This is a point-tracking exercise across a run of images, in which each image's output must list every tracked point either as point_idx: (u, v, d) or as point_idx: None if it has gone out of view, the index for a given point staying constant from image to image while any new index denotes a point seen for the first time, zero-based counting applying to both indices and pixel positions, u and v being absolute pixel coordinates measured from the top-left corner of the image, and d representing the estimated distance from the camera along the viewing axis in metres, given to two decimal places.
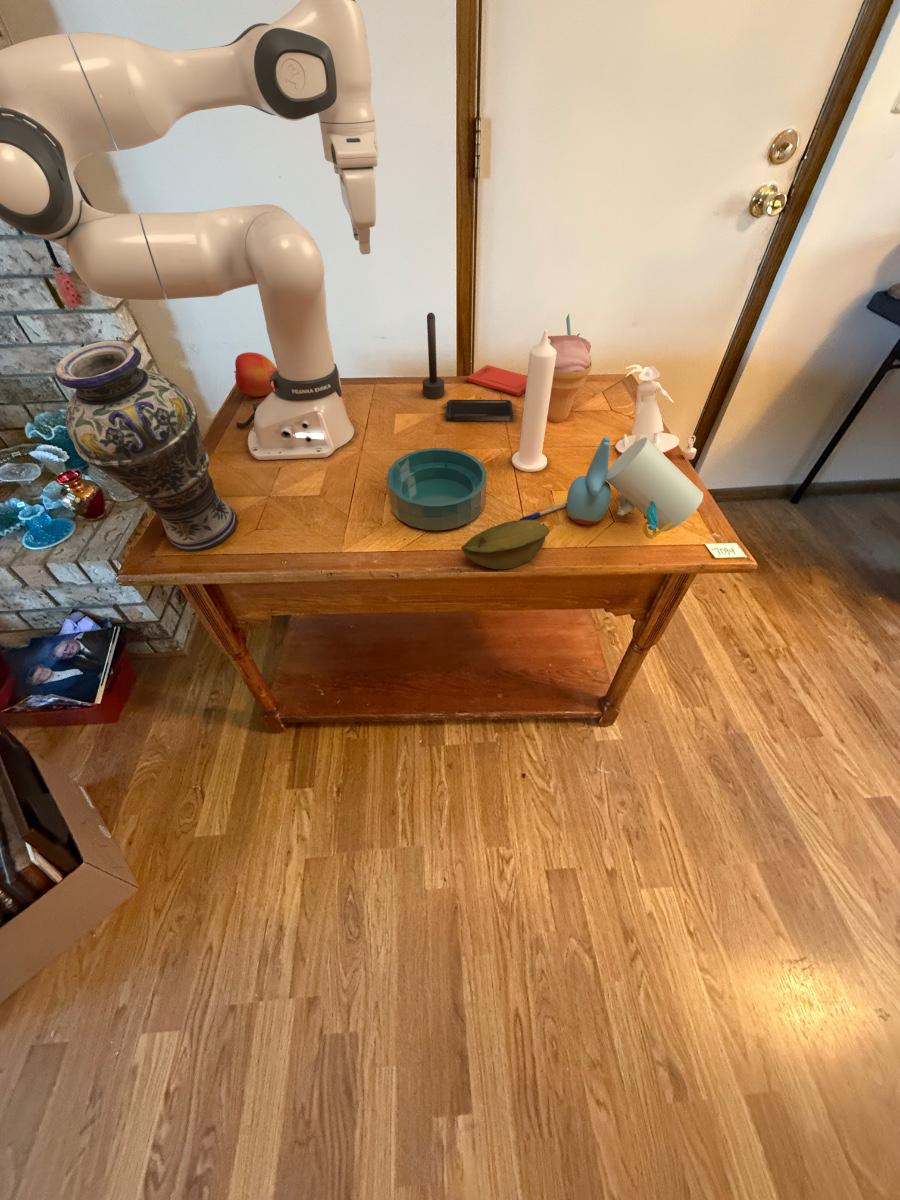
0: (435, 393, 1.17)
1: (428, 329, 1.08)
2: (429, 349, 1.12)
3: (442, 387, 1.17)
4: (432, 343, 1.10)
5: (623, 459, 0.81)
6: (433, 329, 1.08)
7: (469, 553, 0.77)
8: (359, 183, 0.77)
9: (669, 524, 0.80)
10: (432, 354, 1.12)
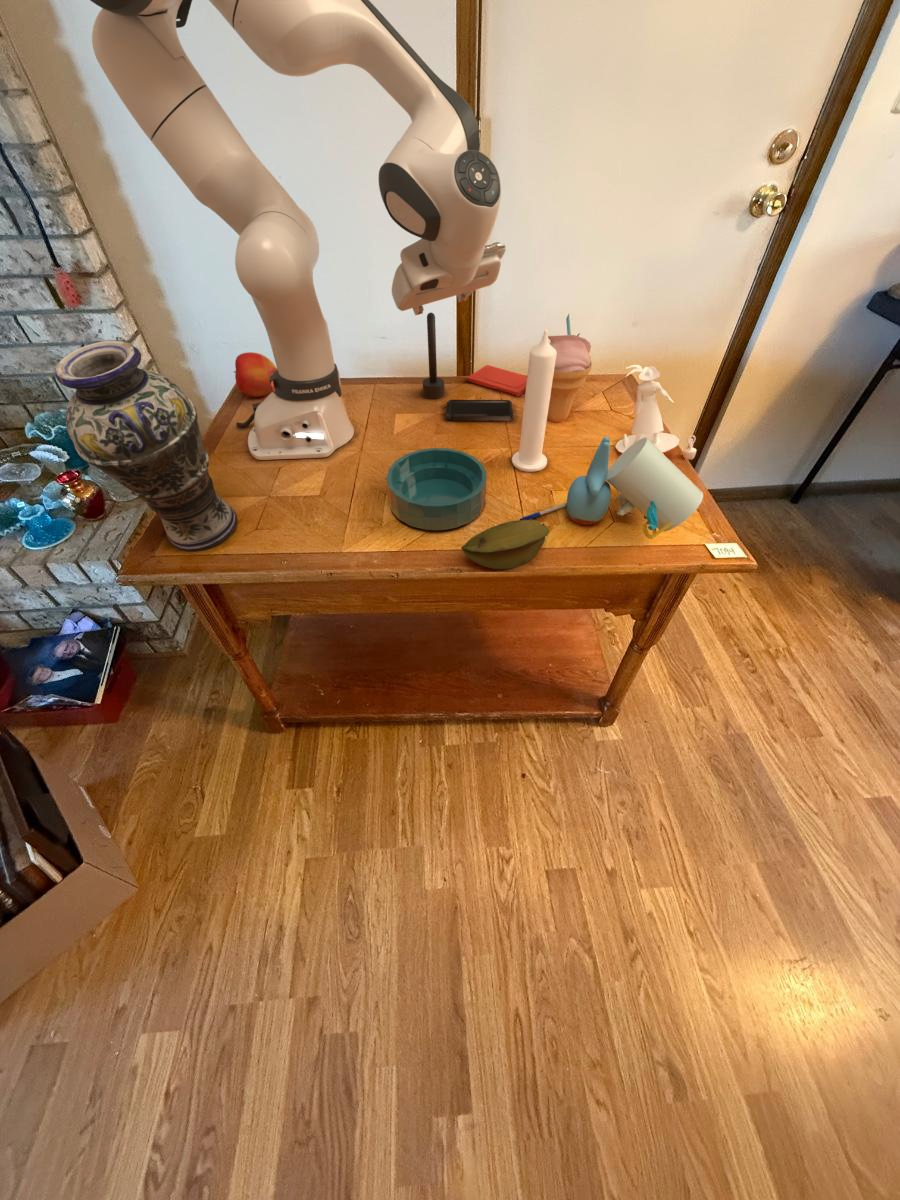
0: (435, 393, 1.17)
1: (428, 329, 1.08)
2: (429, 349, 1.12)
3: (442, 387, 1.17)
4: (432, 343, 1.10)
5: (623, 459, 0.81)
6: (433, 329, 1.08)
7: (469, 553, 0.77)
8: (399, 282, 0.85)
9: (669, 524, 0.80)
10: (432, 354, 1.12)
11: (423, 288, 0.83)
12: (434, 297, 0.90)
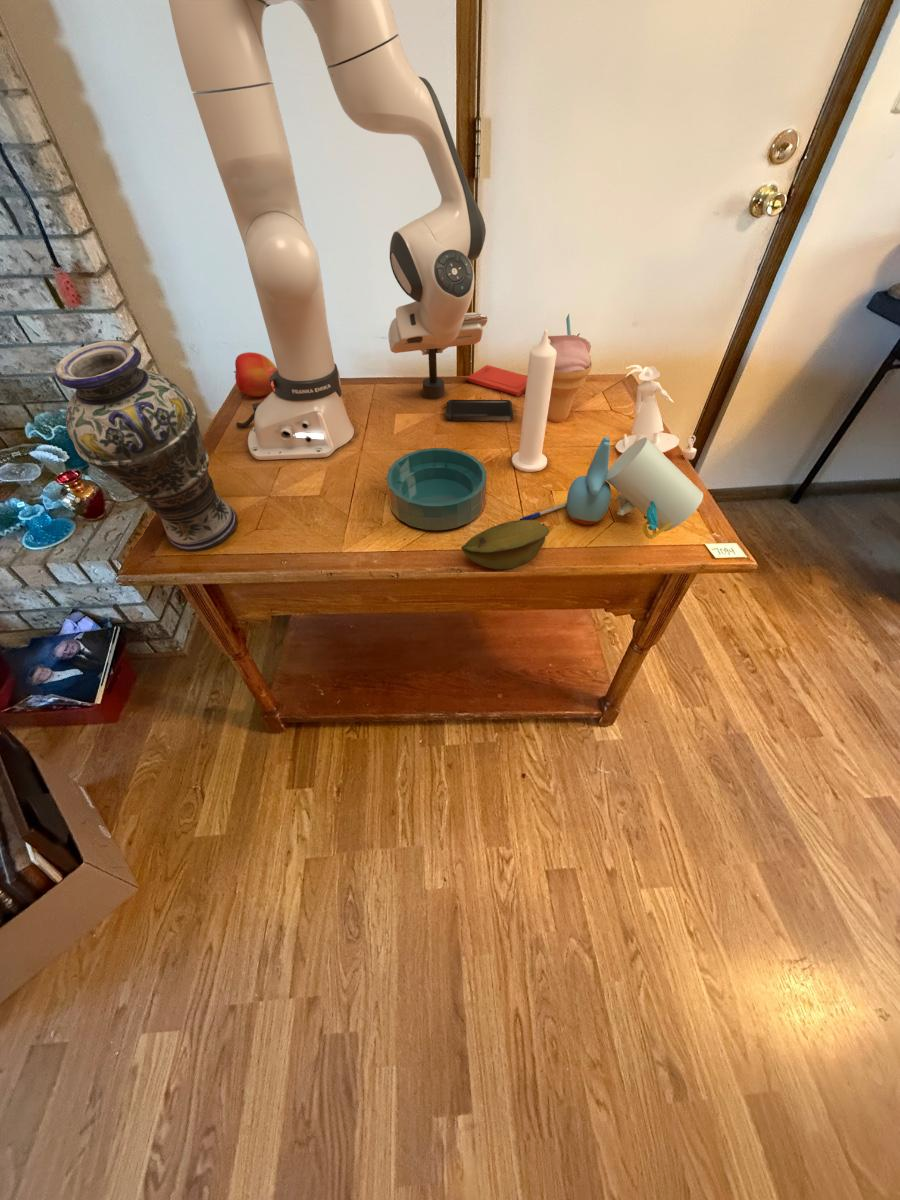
0: (435, 393, 1.17)
1: None
2: (429, 349, 1.12)
3: (442, 387, 1.17)
4: None
5: (623, 459, 0.81)
6: None
7: (469, 553, 0.77)
8: (393, 332, 1.01)
9: (669, 524, 0.80)
10: (432, 354, 1.12)
11: (409, 341, 0.99)
12: (423, 347, 1.06)
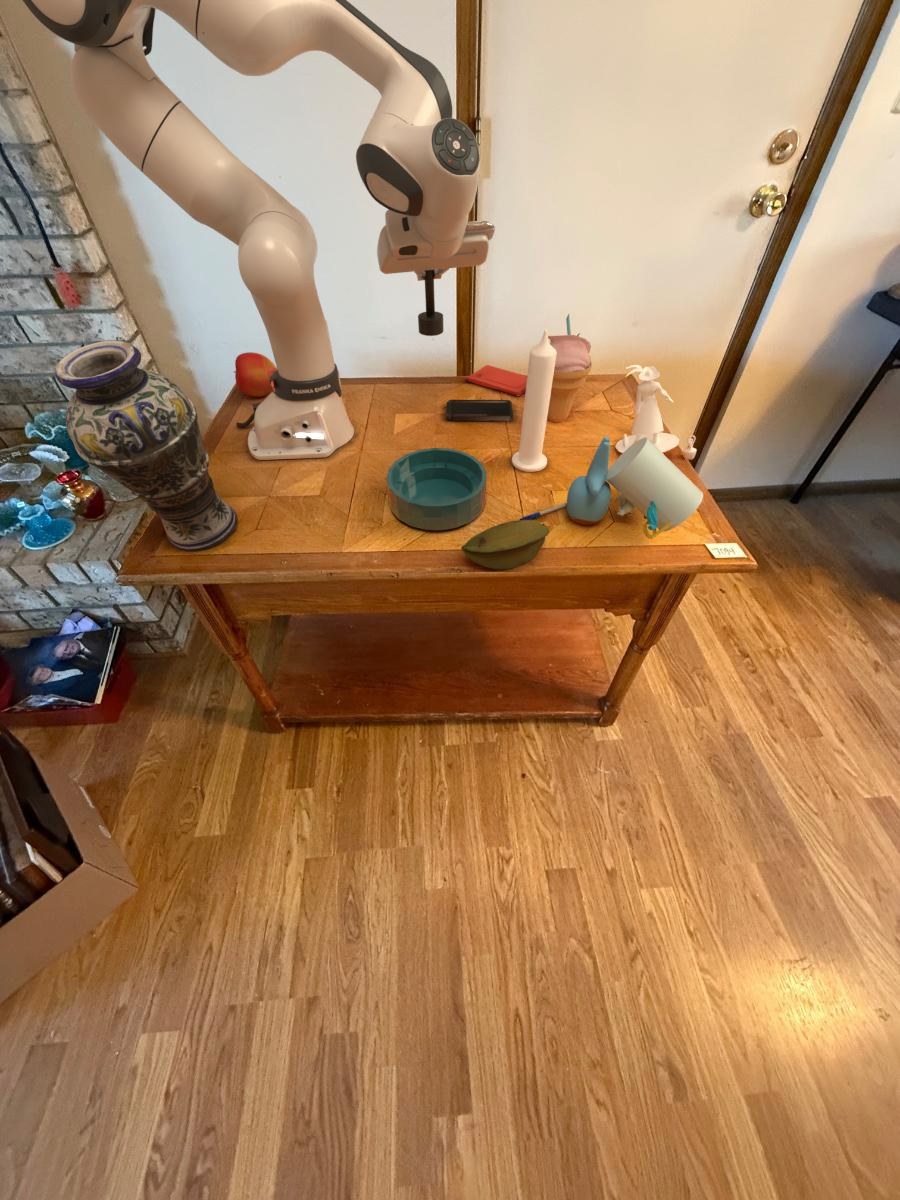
0: (433, 329, 1.01)
1: None
2: None
3: (441, 322, 1.01)
4: None
5: (623, 459, 0.81)
6: None
7: (469, 553, 0.77)
8: (382, 243, 0.85)
9: (669, 524, 0.80)
10: (429, 280, 0.96)
11: (402, 253, 0.83)
12: (419, 266, 0.90)
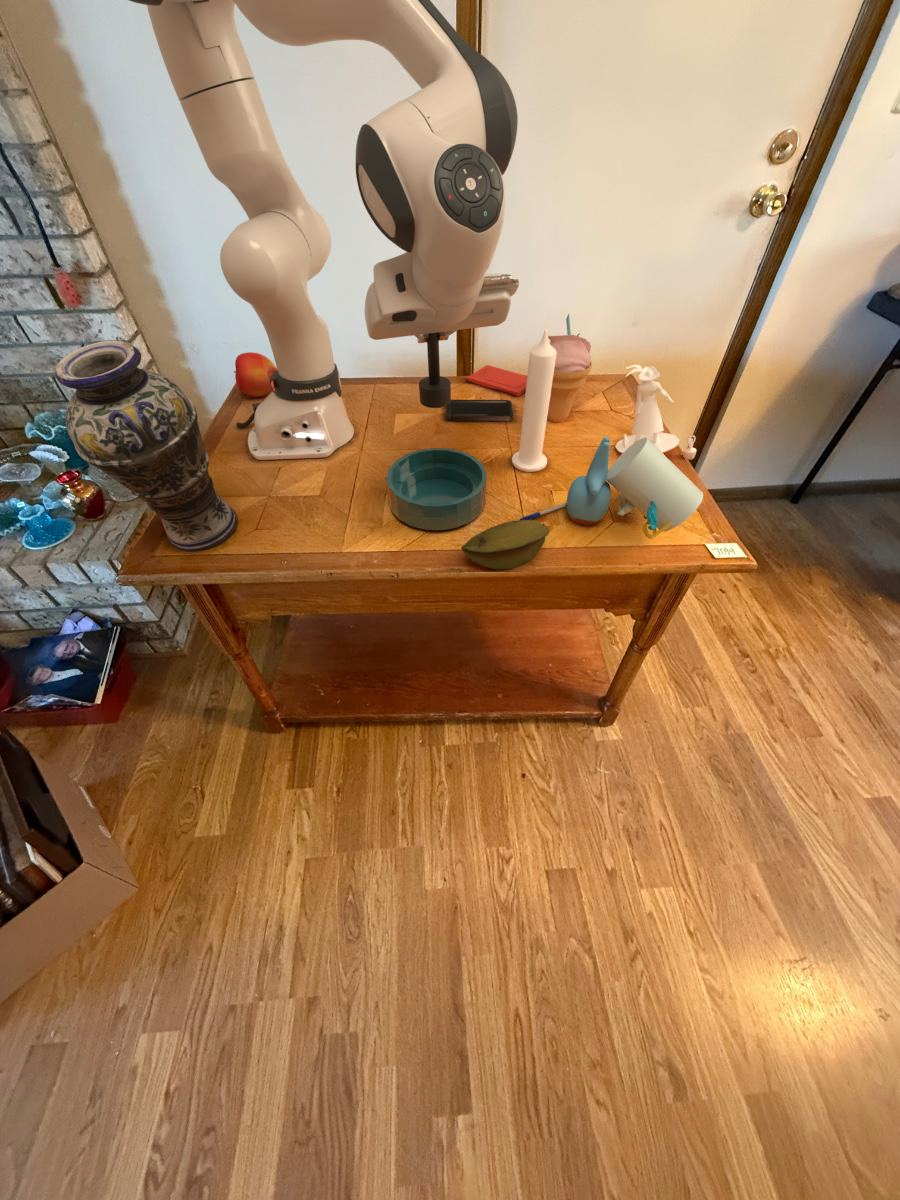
0: (437, 400, 0.80)
1: None
2: (428, 334, 0.74)
3: (448, 391, 0.80)
4: None
5: (623, 459, 0.81)
6: None
7: (469, 553, 0.77)
8: (370, 305, 0.64)
9: (669, 524, 0.80)
10: (432, 342, 0.75)
11: (396, 319, 0.62)
12: (419, 330, 0.69)
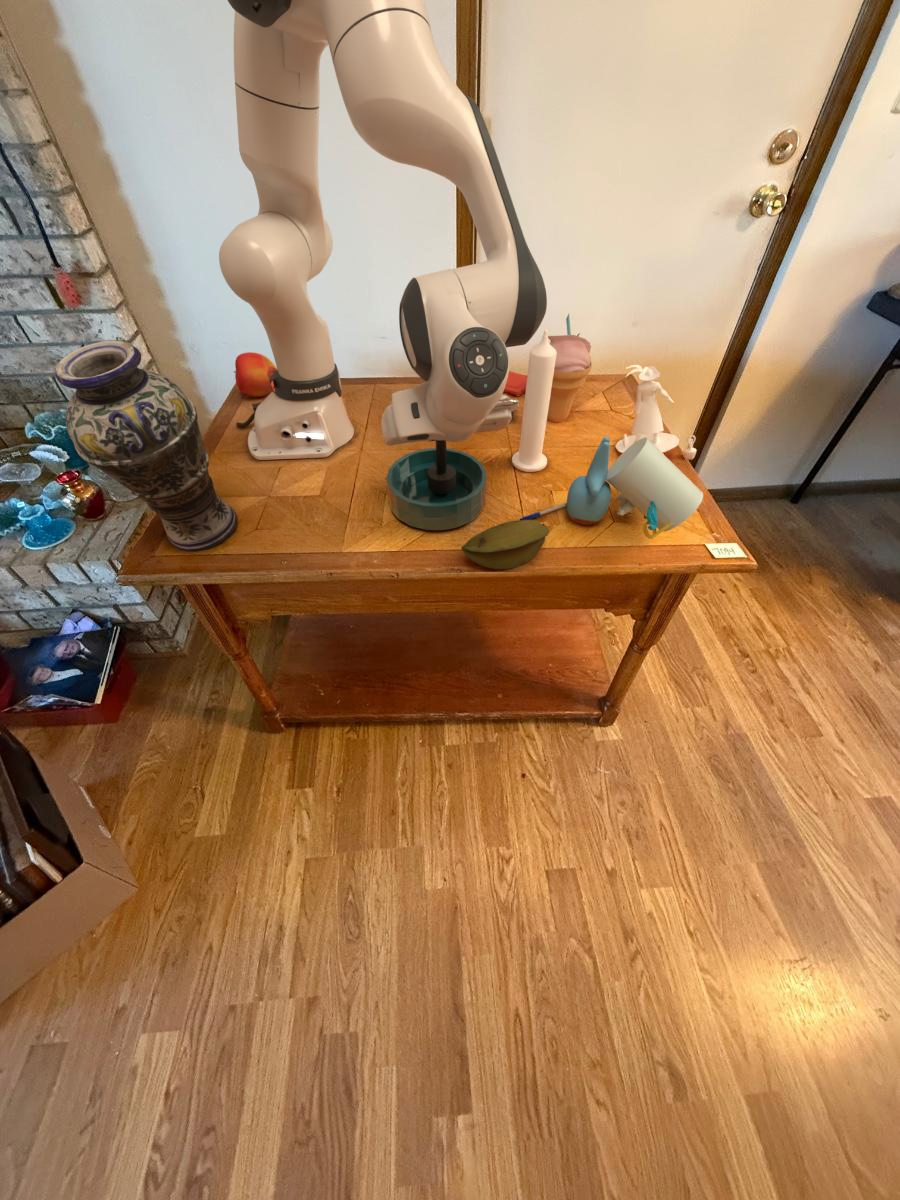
0: (444, 488, 0.88)
1: None
2: None
3: (453, 479, 0.88)
4: None
5: (623, 459, 0.81)
6: None
7: (469, 553, 0.77)
8: (387, 423, 0.72)
9: (669, 524, 0.80)
10: (441, 441, 0.83)
11: (410, 439, 0.70)
12: None
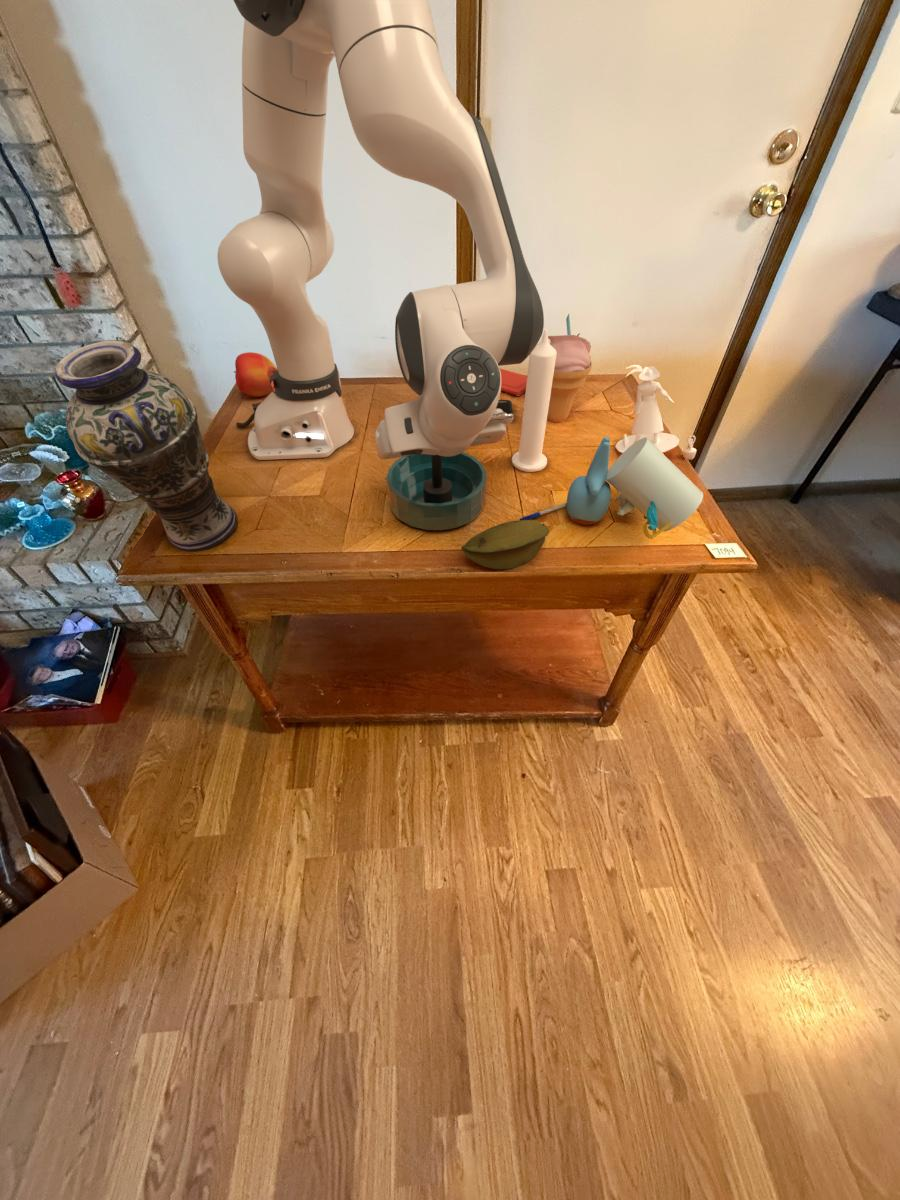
0: (440, 501, 0.88)
1: None
2: None
3: (449, 493, 0.88)
4: None
5: (623, 459, 0.81)
6: None
7: (469, 553, 0.77)
8: (381, 437, 0.72)
9: (669, 524, 0.80)
10: (436, 456, 0.83)
11: (404, 454, 0.70)
12: None
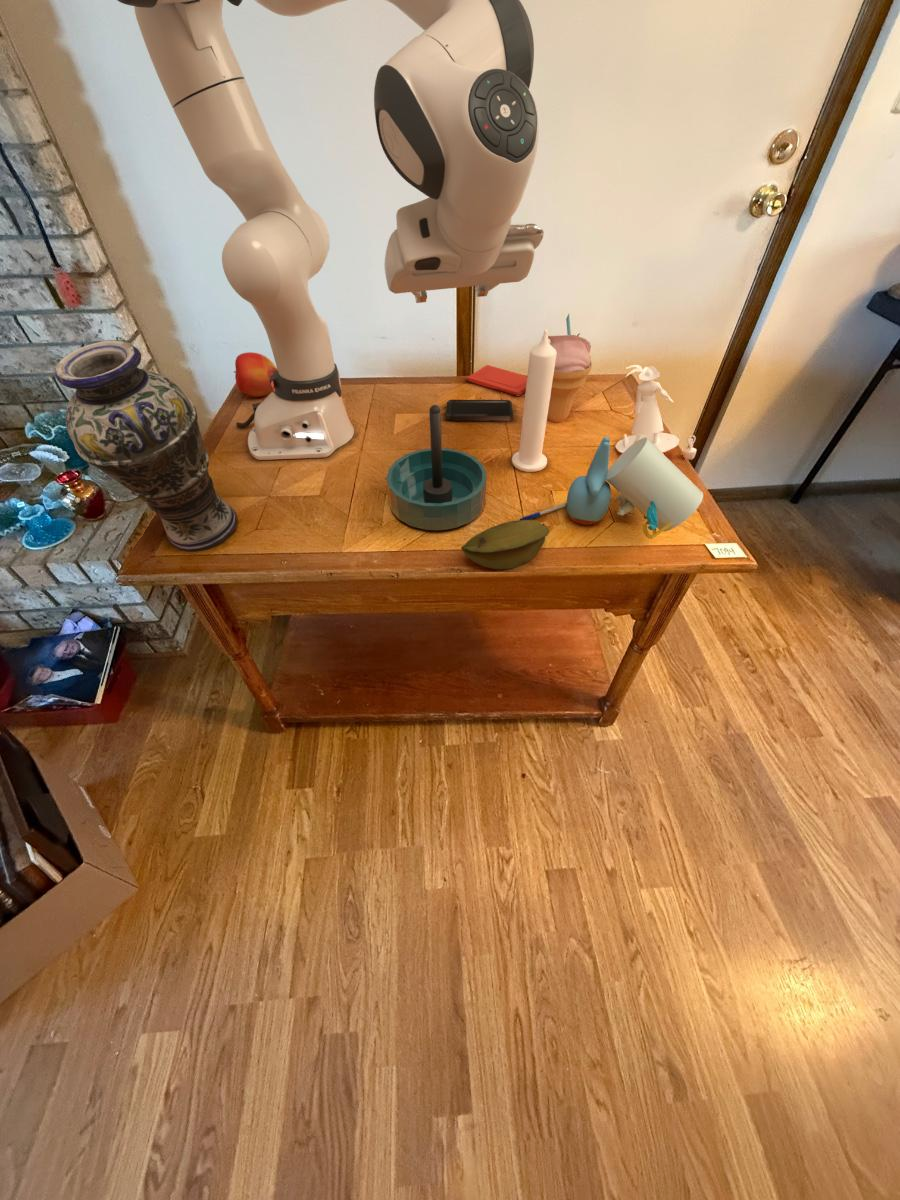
0: (440, 501, 0.88)
1: (432, 426, 0.79)
2: (432, 449, 0.82)
3: (449, 493, 0.88)
4: (437, 443, 0.81)
5: (623, 459, 0.81)
6: (438, 426, 0.79)
7: (469, 553, 0.77)
8: (391, 254, 0.63)
9: (669, 524, 0.80)
10: (436, 456, 0.83)
11: (419, 267, 0.61)
12: (440, 284, 0.68)
